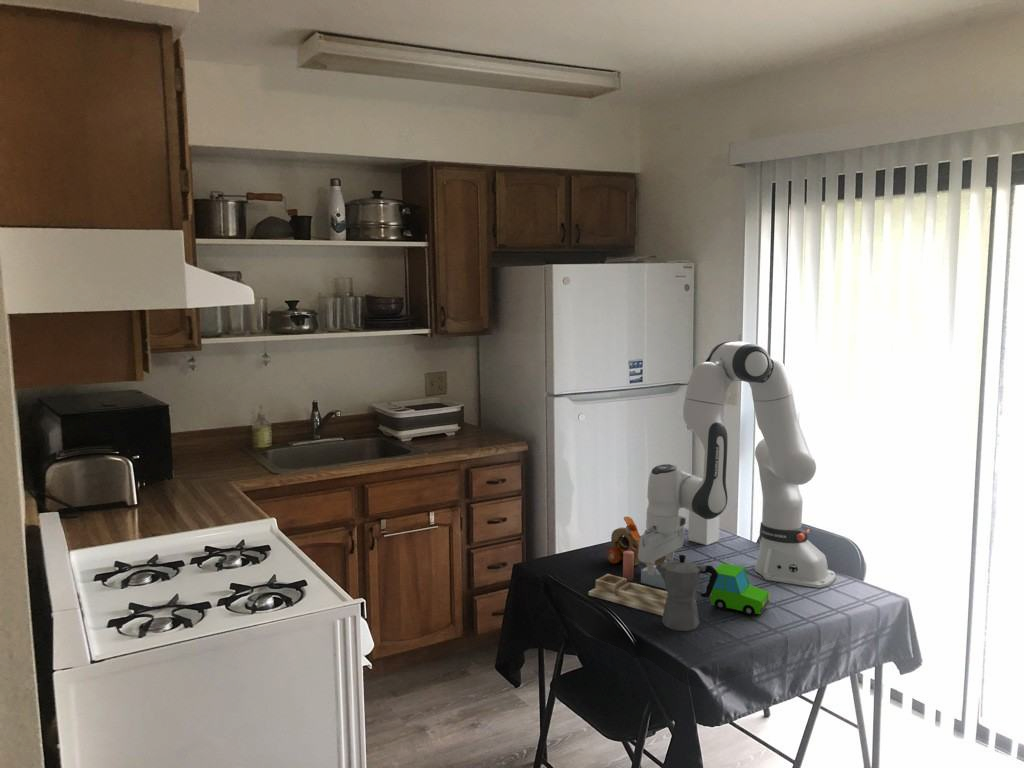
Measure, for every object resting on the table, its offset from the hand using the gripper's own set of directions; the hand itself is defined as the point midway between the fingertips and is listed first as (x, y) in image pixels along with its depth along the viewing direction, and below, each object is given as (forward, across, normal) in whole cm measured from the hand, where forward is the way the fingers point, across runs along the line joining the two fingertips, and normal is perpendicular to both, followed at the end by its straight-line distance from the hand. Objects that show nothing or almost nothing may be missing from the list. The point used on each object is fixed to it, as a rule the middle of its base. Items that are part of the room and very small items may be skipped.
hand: (660, 570), depth 238 cm
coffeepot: (+5, -19, -18) cm, 27 cm away
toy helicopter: (+5, +9, +13) cm, 17 cm away
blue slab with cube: (+5, 0, -1) cm, 5 cm away
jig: (+4, -13, 0) cm, 13 cm away
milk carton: (+4, +43, +8) cm, 44 cm away
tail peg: (+4, -2, +9) cm, 10 cm away
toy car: (+4, -1, -25) cm, 25 cm away
